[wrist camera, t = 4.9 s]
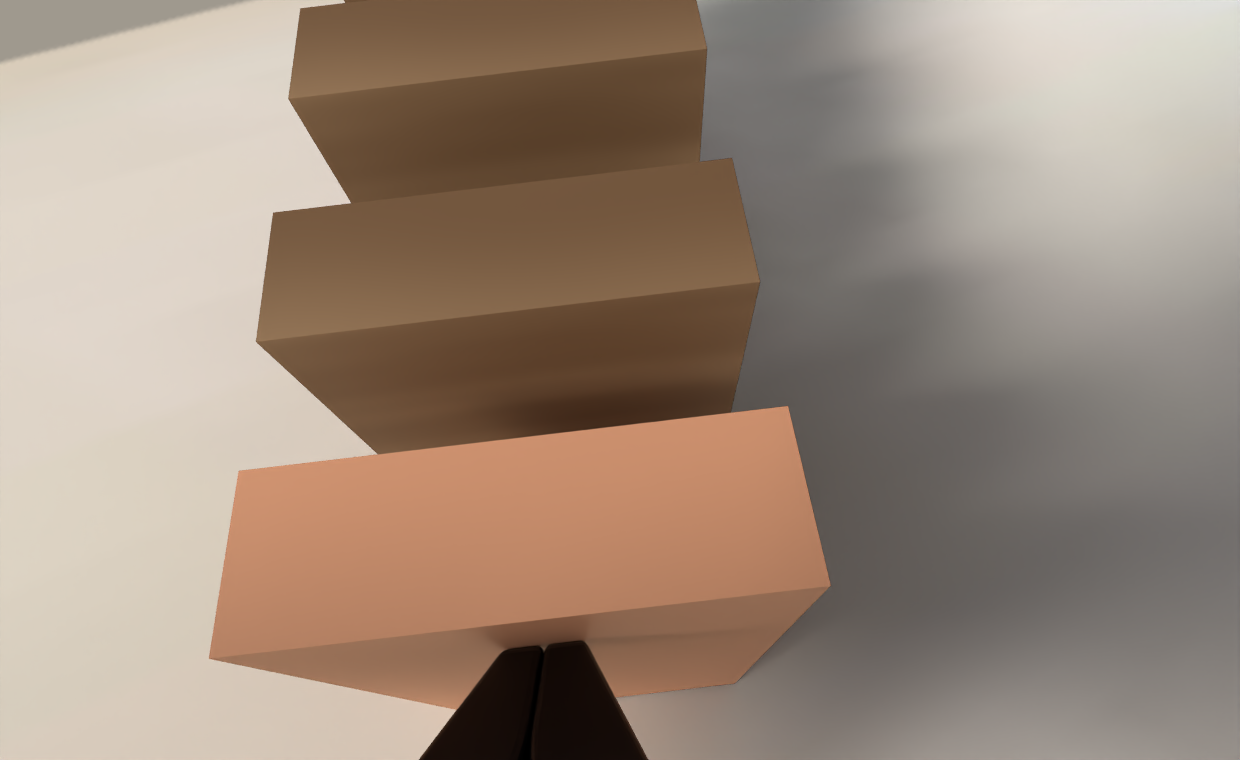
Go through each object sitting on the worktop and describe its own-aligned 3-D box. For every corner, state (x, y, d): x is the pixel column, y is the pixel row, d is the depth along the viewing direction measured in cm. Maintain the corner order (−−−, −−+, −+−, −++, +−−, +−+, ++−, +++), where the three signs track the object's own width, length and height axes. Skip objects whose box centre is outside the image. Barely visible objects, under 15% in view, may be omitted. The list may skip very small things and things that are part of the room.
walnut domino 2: (707, 515, 15) (760, 281, 7) (474, 542, 15) (255, 341, 7) (695, 445, 16) (731, 158, 8) (473, 471, 16) (273, 212, 8)
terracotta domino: (734, 683, 14) (830, 585, 6) (475, 713, 14) (209, 659, 6) (720, 597, 14) (787, 406, 6) (475, 626, 14) (238, 470, 6)
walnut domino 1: (684, 376, 17) (706, 49, 8) (472, 401, 17) (288, 98, 8) (675, 318, 17) (687, -38, 9) (470, 342, 17) (300, 7, 9)
